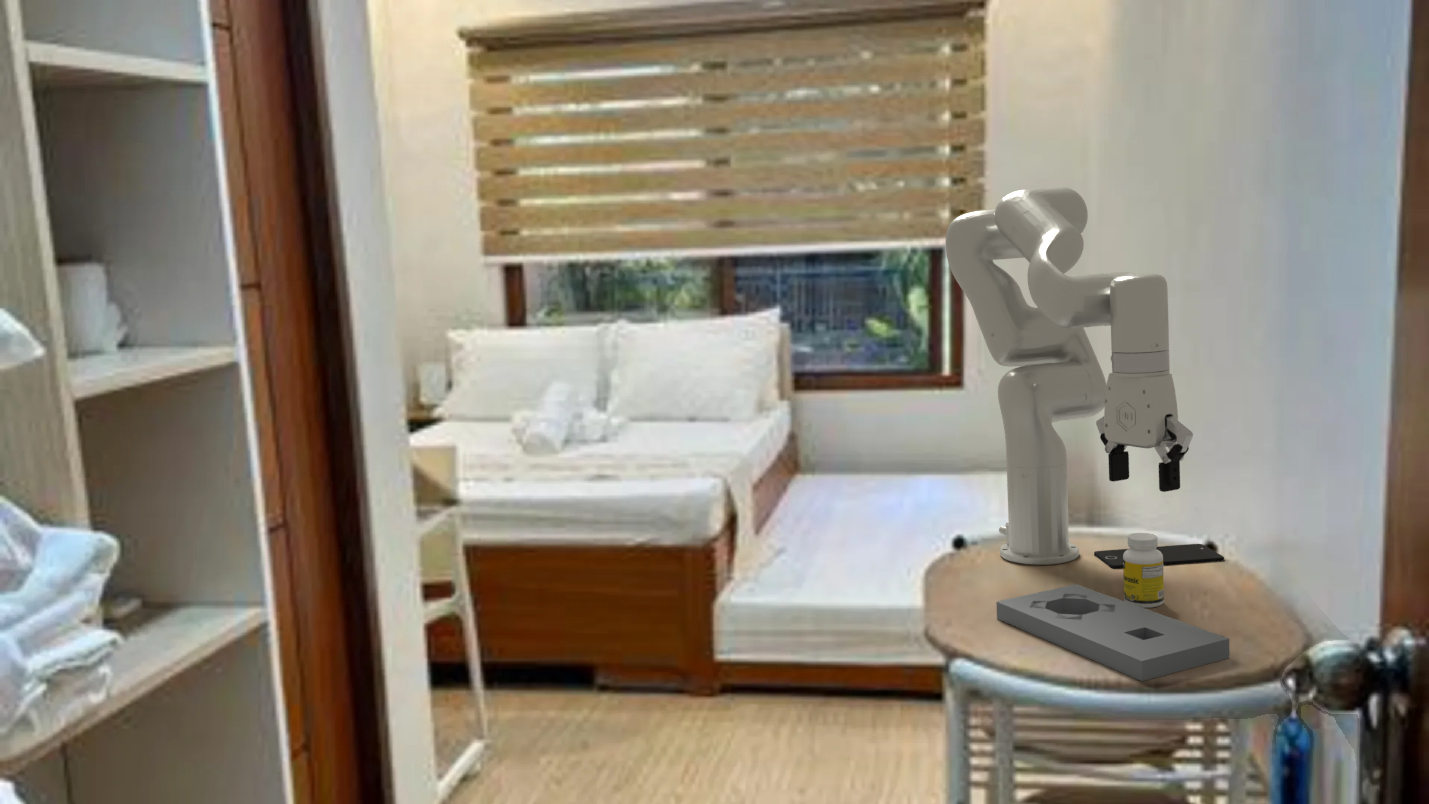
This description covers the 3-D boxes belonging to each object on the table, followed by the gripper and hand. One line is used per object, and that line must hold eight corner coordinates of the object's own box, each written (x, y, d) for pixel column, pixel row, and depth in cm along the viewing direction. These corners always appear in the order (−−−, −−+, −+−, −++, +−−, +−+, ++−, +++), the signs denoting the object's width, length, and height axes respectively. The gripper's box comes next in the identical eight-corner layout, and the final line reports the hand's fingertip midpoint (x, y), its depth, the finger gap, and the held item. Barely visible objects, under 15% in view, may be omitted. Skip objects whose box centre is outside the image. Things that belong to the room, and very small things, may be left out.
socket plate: (996, 618, 168) (996, 601, 168) (1076, 600, 174) (1075, 584, 173) (1141, 681, 143) (1141, 661, 142) (1229, 657, 148) (1229, 638, 148)
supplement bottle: (1117, 599, 174) (1116, 533, 172) (1153, 595, 174) (1152, 529, 173) (1133, 610, 168) (1132, 542, 167) (1170, 606, 169) (1170, 539, 167)
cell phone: (1093, 556, 197) (1092, 551, 197) (1201, 548, 197) (1201, 543, 197) (1112, 571, 188) (1112, 565, 188) (1225, 563, 188) (1225, 557, 188)
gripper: (1076, 363, 173) (1080, 480, 175) (1166, 370, 157) (1169, 498, 159) (1117, 358, 176) (1121, 473, 178) (1209, 364, 160) (1212, 490, 162)
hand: (1143, 485), depth 168 cm, fingers open, 9 cm apart
